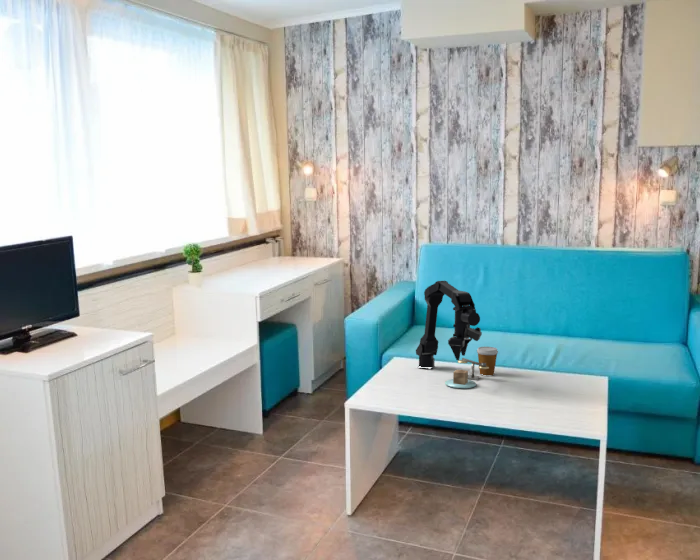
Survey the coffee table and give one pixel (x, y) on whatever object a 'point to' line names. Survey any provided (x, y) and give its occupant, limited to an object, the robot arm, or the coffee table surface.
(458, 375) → the tan block
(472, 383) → the teal dish
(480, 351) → the disposable coffee cup
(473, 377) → the balance
